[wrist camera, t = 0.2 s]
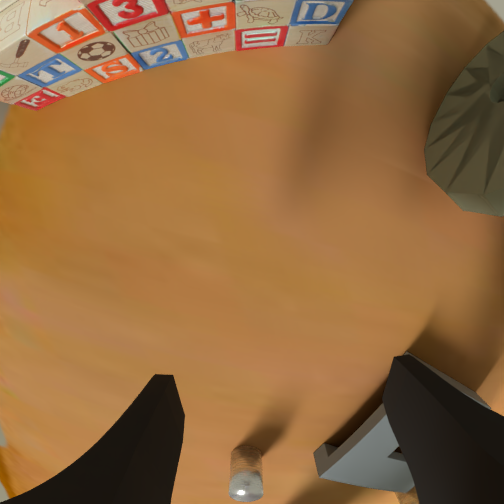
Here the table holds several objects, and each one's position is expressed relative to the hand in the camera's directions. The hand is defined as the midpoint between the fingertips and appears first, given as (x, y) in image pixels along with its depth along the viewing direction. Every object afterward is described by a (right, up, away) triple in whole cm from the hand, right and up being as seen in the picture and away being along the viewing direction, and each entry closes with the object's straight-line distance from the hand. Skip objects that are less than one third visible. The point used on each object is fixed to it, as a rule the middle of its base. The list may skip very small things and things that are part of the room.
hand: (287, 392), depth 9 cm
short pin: (-2, -13, +13) cm, 19 cm away
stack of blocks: (-7, +19, +7) cm, 22 cm away
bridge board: (+12, -11, +13) cm, 21 cm away
